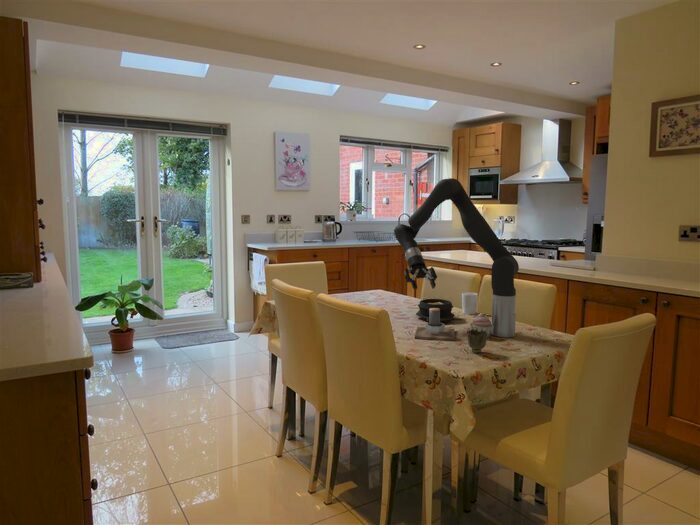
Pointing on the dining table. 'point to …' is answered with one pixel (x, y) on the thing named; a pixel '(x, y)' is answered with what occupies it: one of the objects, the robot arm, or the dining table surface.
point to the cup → (477, 340)
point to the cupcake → (482, 323)
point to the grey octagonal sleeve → (435, 329)
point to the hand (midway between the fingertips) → (425, 288)
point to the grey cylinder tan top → (434, 317)
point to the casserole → (442, 304)
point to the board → (446, 336)
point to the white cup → (469, 303)
